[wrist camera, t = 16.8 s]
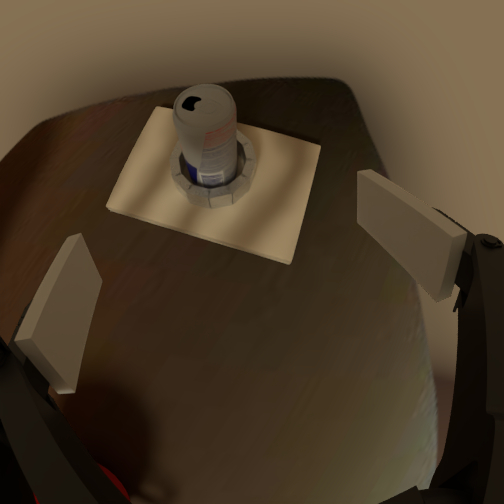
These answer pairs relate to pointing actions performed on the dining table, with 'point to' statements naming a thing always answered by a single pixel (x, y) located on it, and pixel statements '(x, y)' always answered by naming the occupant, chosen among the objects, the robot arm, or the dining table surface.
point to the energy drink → (207, 134)
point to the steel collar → (221, 194)
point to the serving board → (229, 217)
